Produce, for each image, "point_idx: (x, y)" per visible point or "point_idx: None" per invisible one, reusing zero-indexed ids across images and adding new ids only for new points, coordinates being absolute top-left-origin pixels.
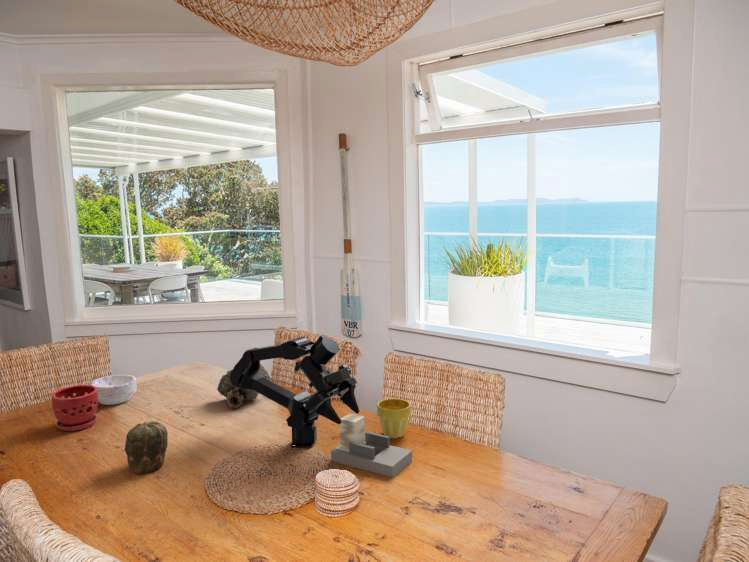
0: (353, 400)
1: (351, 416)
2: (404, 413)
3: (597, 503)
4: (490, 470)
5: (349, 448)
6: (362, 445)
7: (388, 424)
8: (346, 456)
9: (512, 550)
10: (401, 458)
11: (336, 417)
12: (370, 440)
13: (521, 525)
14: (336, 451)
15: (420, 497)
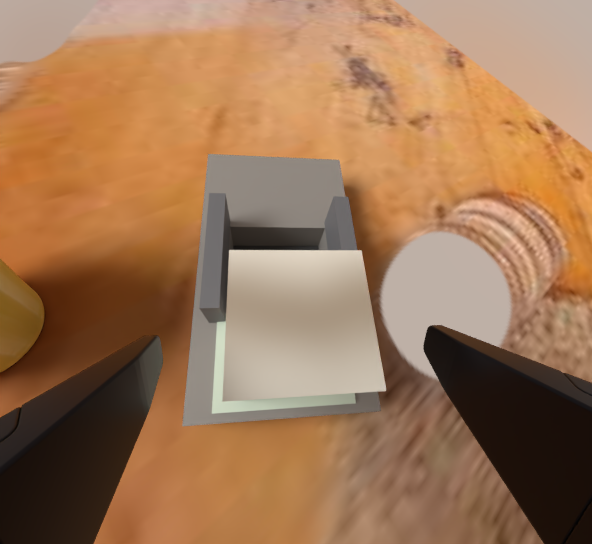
0: (72, 413)
1: (282, 335)
2: None
3: None
4: (178, 46)
5: None
6: (351, 241)
7: (3, 297)
8: None
9: (396, 9)
10: (278, 159)
11: (494, 348)
12: (225, 288)
13: (336, 5)
14: None
15: (365, 114)
